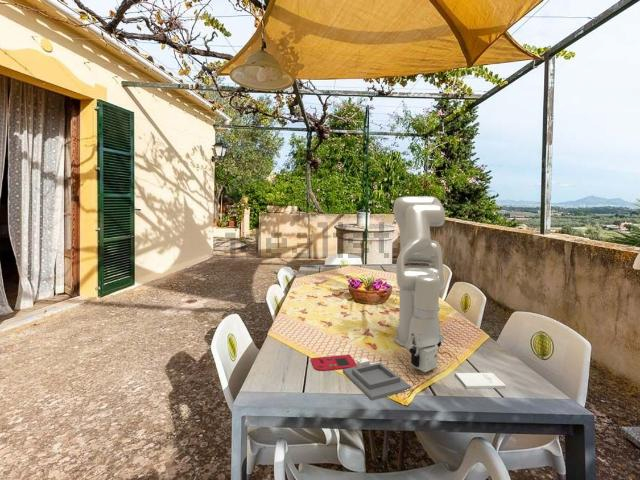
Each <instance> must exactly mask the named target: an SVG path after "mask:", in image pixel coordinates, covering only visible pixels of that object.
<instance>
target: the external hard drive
mask: <svg viewBox="0 0 640 480" xmlns="http://www.w3.org/2000/svg"><path fill="white" fill-rule="evenodd" d="M454 377H455V379H457V380H458V381H459V383H460V384H461V385H462V386H463V387H464V389H466V390H471V389H473V390H474V389H475V390H476V389H506V388H507V386H506V384H505V383H504V382H503V381H502V380H500V378H498V377H497V375H495V374H494V373H493V372H454Z"/></svg>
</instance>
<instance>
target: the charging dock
mask: <svg viewBox="0 0 640 480" xmlns="http://www.w3.org/2000/svg"><path fill="white" fill-rule="evenodd" d="M356 364H357V366H356V367H351V368H347V369H342V373H343V374H344V375H345V376H347V378H348V379H349V380H351V381H352V382H353V384H355V385H356V386H357V387H358V388H359V389H360V390H361V391H362V392H363V393H364V394H365V395H366V396H367V397H368V398H369V399H371V401H374V400H377V399H378V400H379V399H383V398H385V397H389V396H393V395H396V393H397V394H399V393H398V392H401V393H403V392H402V391H404V390H407V389H410V388H411V389H412V385H410V384H409V383H408V382H406V381H405V380H404V379H402V378H401V376H399V375H398V374H396V372H394V371H393V370H391V369H390V368H388V367H387V366H386V365H385V364H383V363H382V362H380V361H374V362H371V360H369V359H368V358H367V357H364V358H360V359H357V360H356ZM404 392H405V391H404Z"/></svg>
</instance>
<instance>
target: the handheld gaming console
mask: <svg viewBox="0 0 640 480" xmlns="http://www.w3.org/2000/svg"><path fill="white" fill-rule="evenodd" d="M310 362H311V365H312V367H313V369H314V370H315V371H318V372H328V371H337V370H338V371H339V370H343V369H347V368H351V367H356V366H357V362H356V361H355V360H354V358H353V357H352V355H350V354H341V355H340V354H339V355H329V356H319V357H311V358H310Z"/></svg>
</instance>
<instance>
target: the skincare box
mask: <svg viewBox="0 0 640 480" xmlns="http://www.w3.org/2000/svg"><path fill="white" fill-rule="evenodd" d="M415 350H416V347H415ZM418 356H419V367H415V366H414V365H413V364H411V363H410V365H411V366H412V367H413V368H416V369H418V370H420V371H421V372H424V373H427V372H429V371H431V370H433V369H436V368H437V364H438V363H437V361H438V351H437V347H436V346H434V345H432V346H428V347H423V348H421V349H420V351H419V353H418Z"/></svg>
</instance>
